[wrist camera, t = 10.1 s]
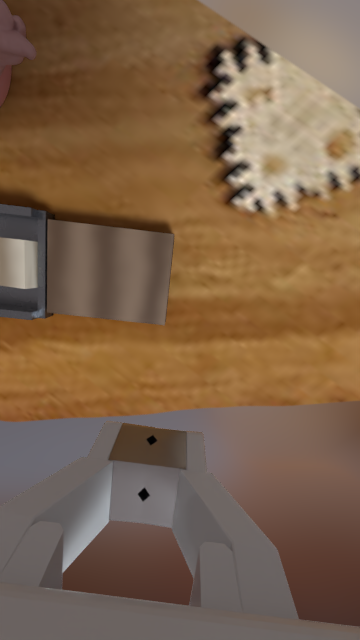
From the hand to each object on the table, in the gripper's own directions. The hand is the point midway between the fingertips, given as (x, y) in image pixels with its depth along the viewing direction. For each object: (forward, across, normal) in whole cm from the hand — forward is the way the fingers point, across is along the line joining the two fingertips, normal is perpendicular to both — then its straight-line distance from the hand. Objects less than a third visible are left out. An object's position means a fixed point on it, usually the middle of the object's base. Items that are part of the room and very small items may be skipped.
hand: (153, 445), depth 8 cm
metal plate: (+31, +10, -3) cm, 32 cm away
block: (+29, +22, -3) cm, 37 cm away
